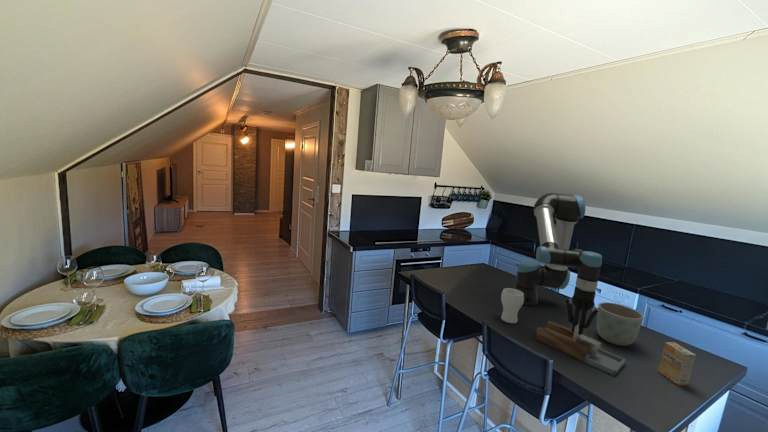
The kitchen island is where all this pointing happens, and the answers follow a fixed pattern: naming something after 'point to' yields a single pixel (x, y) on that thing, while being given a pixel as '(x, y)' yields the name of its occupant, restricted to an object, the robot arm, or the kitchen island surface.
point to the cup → (511, 304)
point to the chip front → (593, 346)
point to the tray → (605, 361)
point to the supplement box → (676, 363)
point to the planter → (618, 323)
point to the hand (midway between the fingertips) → (575, 340)
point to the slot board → (562, 340)
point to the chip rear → (582, 340)
